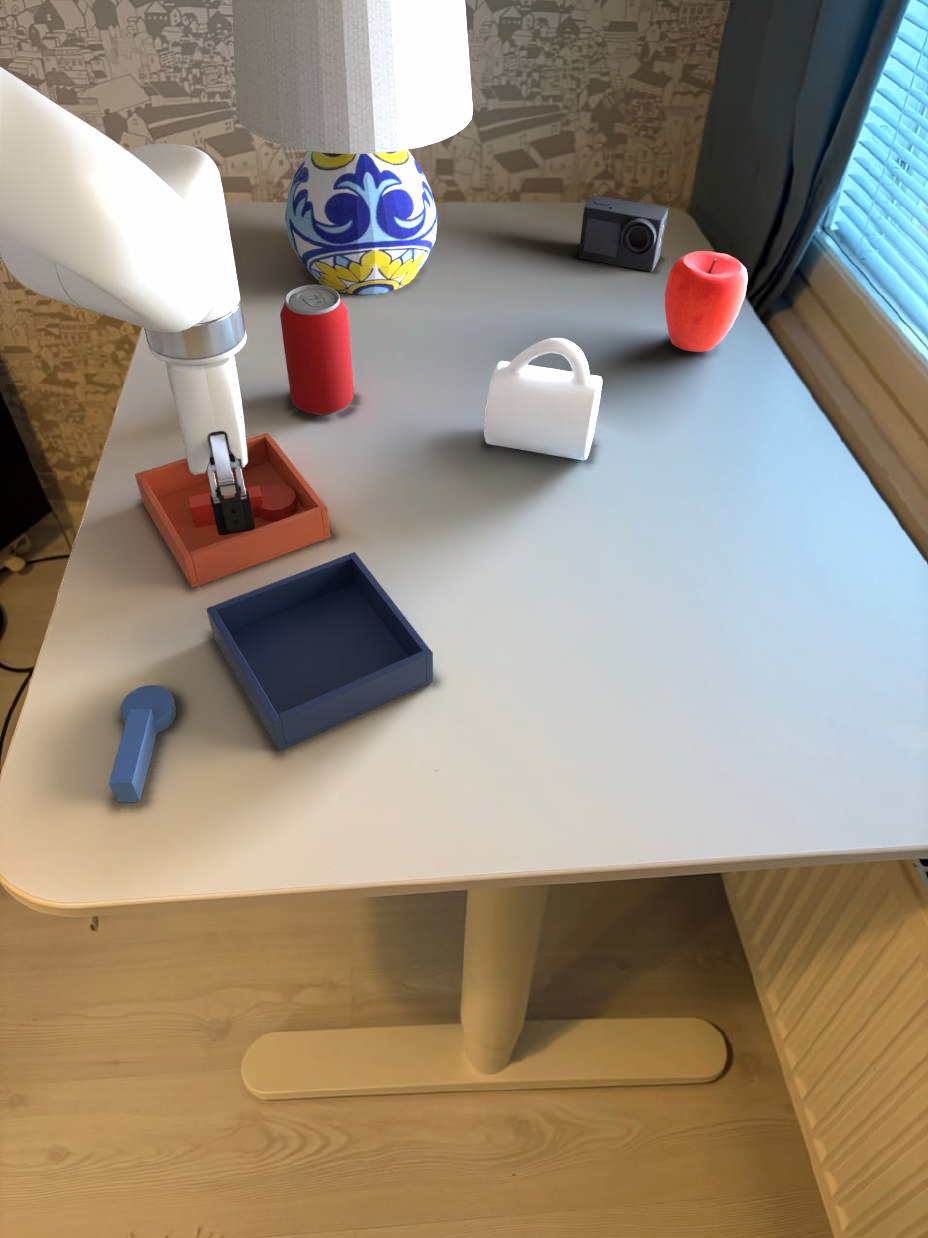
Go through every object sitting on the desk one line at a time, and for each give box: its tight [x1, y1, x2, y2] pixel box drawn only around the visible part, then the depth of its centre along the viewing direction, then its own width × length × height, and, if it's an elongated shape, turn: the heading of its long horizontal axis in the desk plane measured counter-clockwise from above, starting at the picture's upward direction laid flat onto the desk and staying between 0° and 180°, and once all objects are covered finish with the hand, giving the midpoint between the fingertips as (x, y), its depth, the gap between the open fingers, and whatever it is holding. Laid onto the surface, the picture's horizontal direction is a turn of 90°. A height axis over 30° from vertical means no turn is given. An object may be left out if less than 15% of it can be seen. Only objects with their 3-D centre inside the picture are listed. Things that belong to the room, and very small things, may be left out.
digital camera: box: [578, 194, 669, 273], centre depth 121 cm, size 10×5×7 cm, turn 70°
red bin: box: [134, 431, 331, 589], centre depth 84 cm, size 13×13×4 cm
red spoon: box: [189, 484, 297, 527], centre depth 84 cm, size 10×4×2 cm, turn 107°
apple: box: [664, 250, 749, 353], centre depth 104 cm, size 9×9×11 cm
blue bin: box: [205, 551, 434, 752], centre depth 72 cm, size 13×13×4 cm
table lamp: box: [231, 0, 474, 296], centre depth 105 cm, size 27×27×40 cm
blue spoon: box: [108, 684, 177, 803], centre depth 67 cm, size 10×4×2 cm, turn 2°
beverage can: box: [279, 284, 355, 416], centre depth 94 cm, size 7×7×12 cm
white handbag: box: [483, 337, 603, 461], centre depth 90 cm, size 8×10×12 cm
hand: (230, 496), depth 83 cm, fingers open, 9 cm apart
